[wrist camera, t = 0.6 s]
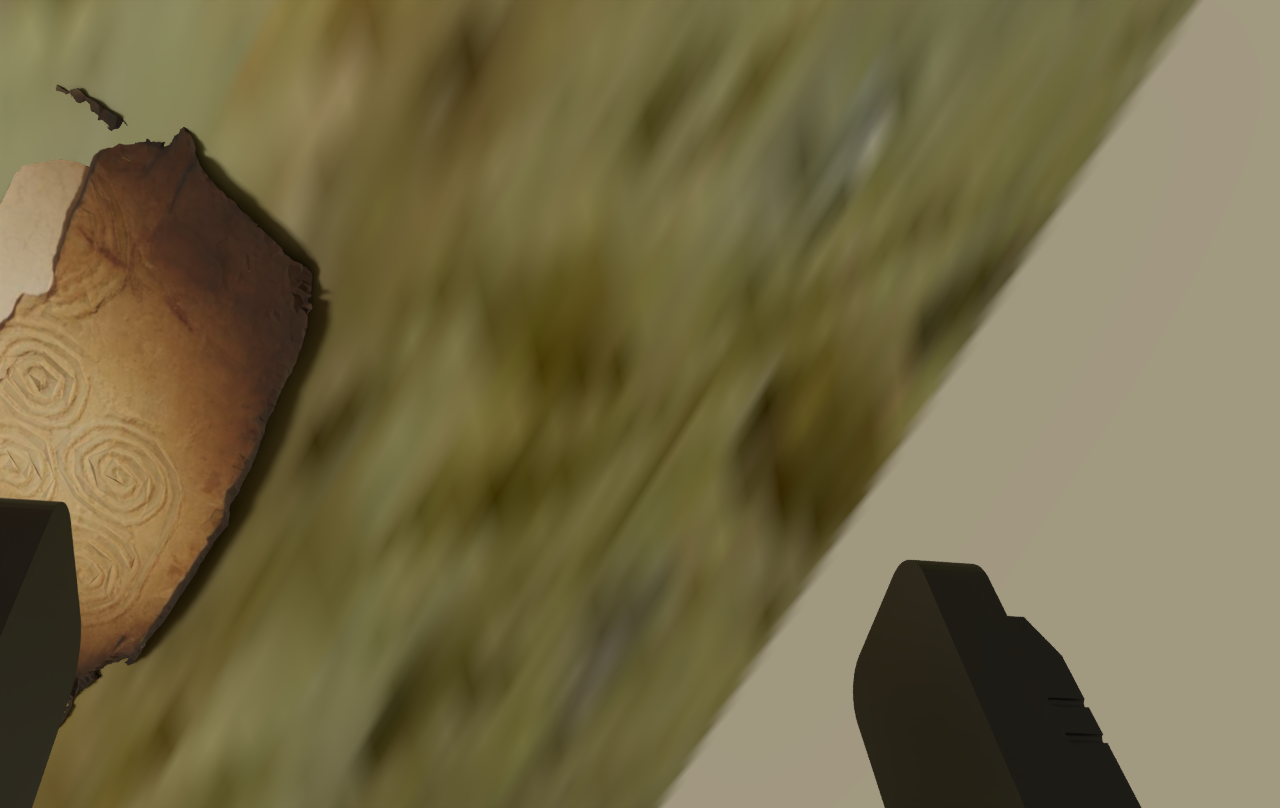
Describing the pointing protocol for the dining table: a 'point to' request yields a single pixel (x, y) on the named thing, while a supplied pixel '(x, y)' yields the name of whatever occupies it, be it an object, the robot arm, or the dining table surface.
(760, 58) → the dining table surface
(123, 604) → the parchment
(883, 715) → the robot arm
